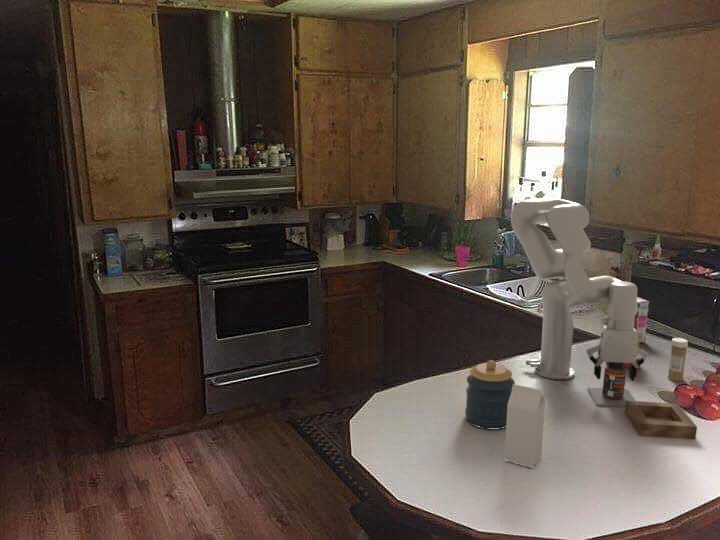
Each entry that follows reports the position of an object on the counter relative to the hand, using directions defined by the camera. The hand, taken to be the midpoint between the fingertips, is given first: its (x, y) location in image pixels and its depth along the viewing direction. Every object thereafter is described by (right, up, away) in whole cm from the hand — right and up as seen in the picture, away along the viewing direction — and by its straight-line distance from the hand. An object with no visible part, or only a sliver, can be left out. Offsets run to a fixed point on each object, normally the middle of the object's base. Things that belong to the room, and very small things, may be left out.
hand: (614, 378), depth 183 cm
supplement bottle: (0, -6, +2) cm, 6 cm away
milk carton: (-36, -14, -32) cm, 50 cm away
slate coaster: (0, -6, +2) cm, 6 cm away
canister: (-40, -10, -12) cm, 43 cm away
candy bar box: (+29, +6, +54) cm, 61 cm away
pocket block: (+6, -10, -15) cm, 19 cm away
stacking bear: (+15, 0, +29) cm, 33 cm away
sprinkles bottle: (+26, -3, +16) cm, 31 cm away
